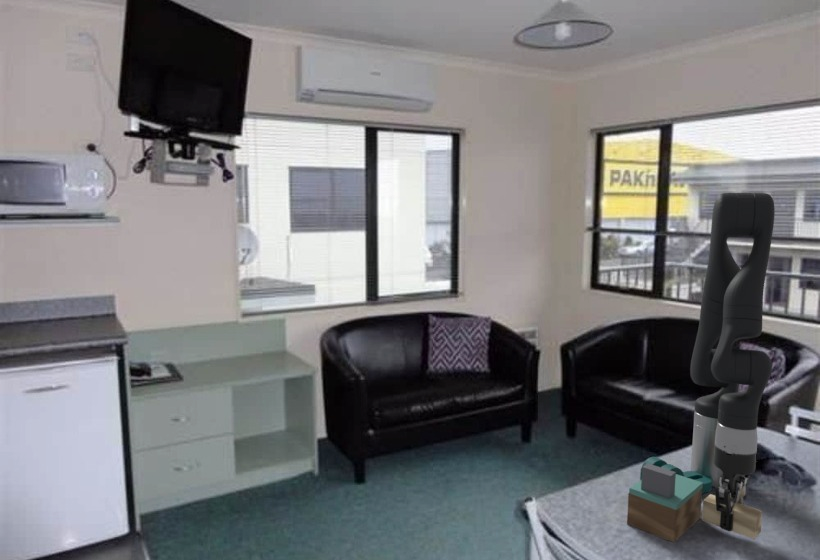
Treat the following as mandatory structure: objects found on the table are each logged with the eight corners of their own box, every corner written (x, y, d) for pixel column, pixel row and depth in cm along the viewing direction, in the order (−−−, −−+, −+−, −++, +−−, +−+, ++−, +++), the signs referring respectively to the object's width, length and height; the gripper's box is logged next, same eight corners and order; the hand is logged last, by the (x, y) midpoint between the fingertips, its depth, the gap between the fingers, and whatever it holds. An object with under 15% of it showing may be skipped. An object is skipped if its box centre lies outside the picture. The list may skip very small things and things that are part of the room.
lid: (657, 477, 138) (658, 447, 137) (702, 492, 131) (704, 460, 130) (628, 497, 129) (630, 465, 128) (676, 514, 122) (678, 481, 121)
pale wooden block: (709, 513, 129) (710, 494, 128) (760, 531, 122) (762, 510, 121) (701, 520, 126) (703, 500, 126) (754, 539, 119) (756, 517, 118)
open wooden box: (655, 501, 139) (657, 473, 138) (700, 517, 132) (702, 487, 131) (627, 523, 129) (628, 493, 129) (673, 542, 122) (675, 510, 121)
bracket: (660, 503, 138) (662, 470, 137) (639, 490, 144) (641, 459, 143) (718, 489, 145) (720, 458, 144) (695, 477, 151) (697, 447, 150)
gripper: (728, 431, 130) (722, 507, 132) (703, 449, 120) (697, 531, 122) (766, 441, 124) (761, 520, 126) (744, 461, 114) (737, 545, 116)
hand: (730, 525), depth 124 cm, fingers closed on pale wooden block, 4 cm apart
